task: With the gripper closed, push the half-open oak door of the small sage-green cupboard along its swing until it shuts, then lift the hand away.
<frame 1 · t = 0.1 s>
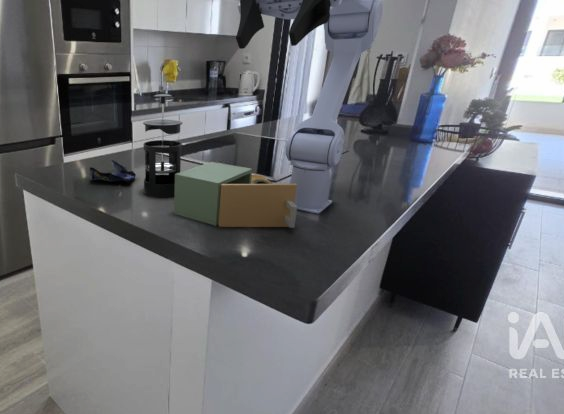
hand: (264, 41, 53), 32 cm above the countertop, tool tilted 50°, fingers open, 7 cm apart
cupboard: (212, 210, 81), on the countertop
french press: (163, 192, 93), on the countertop
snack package: (114, 181, 103), on the countertop
pastry: (253, 190, 95), on the countertop
door: (259, 209, 69), point 4 cm above the countertop, hinge at 50.0°
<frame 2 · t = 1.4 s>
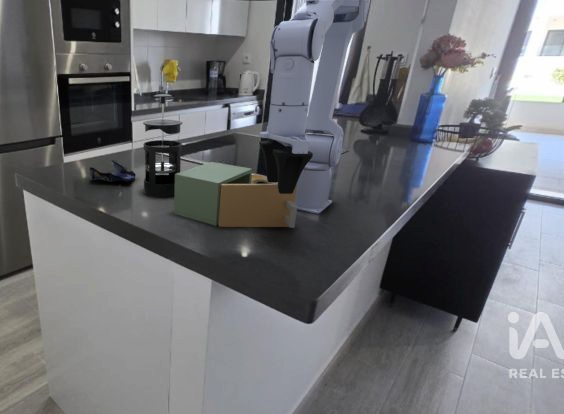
hand: (279, 187, 65), 9 cm above the countertop, tool pointing down, fingers open, 6 cm apart
nothing on the countertop moved.
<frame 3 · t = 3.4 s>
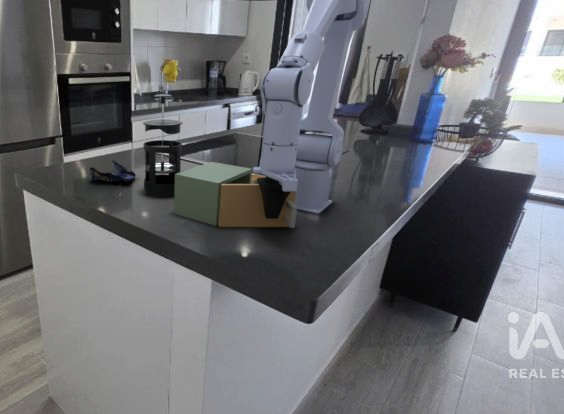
hand: (271, 217, 69), 3 cm above the countertop, tool pointing down, fingers closed
door: (259, 209, 69), point 4 cm above the countertop, hinge at 50.0°, touching gripper
everything else where it was.
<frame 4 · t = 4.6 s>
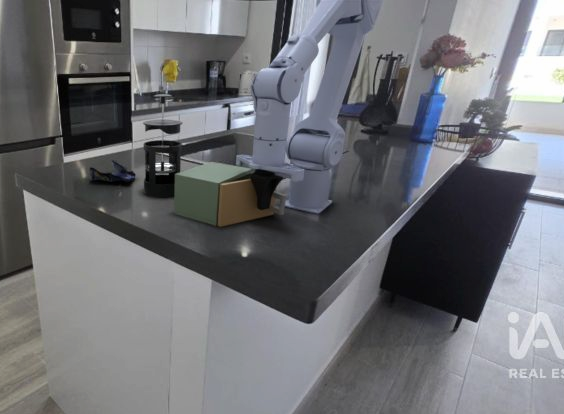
hand: (263, 208, 74), 3 cm above the countertop, tool pointing down, fingers closed
door: (254, 202, 72), point 4 cm above the countertop, hinge at 21.6°, touching gripper
everything else where it was.
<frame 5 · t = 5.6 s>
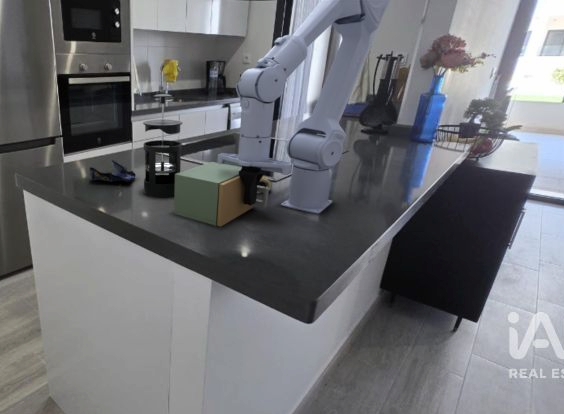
hand: (249, 203, 77), 3 cm above the countertop, tool pointing down, fingers closed
door: (245, 198, 75), point 4 cm above the countertop, hinge at -0.6°, touching gripper
everything else where it was.
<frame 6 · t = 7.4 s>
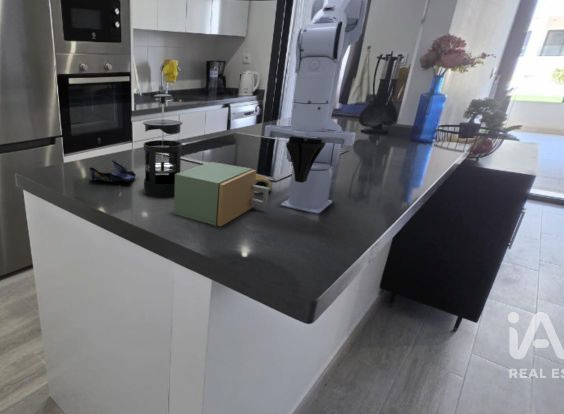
hand: (300, 180, 68), 9 cm above the countertop, tool pointing down, fingers closed
door: (245, 198, 75), point 4 cm above the countertop, hinge at -0.6°
everything else where it was.
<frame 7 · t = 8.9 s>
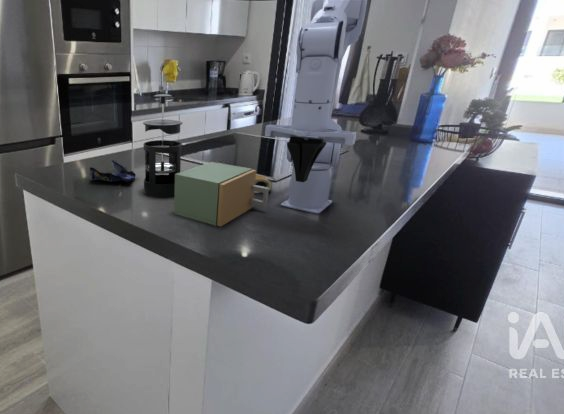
hand: (301, 180, 68), 9 cm above the countertop, tool pointing down, fingers closed
nothing on the countertop moved.
at the end: door at -1° (first picture: +50°); the gripper is holding nothing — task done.
